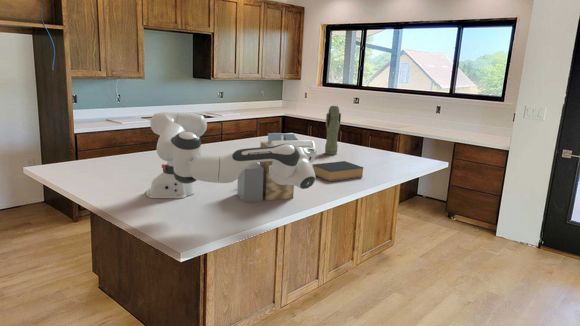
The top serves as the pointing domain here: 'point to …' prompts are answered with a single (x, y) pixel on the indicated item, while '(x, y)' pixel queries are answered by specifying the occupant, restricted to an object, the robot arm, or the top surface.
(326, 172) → the book
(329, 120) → the olive piece
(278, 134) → the light blue bar
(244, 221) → the top surface
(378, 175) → the top surface
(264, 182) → the carton
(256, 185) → the grey rectangular block
